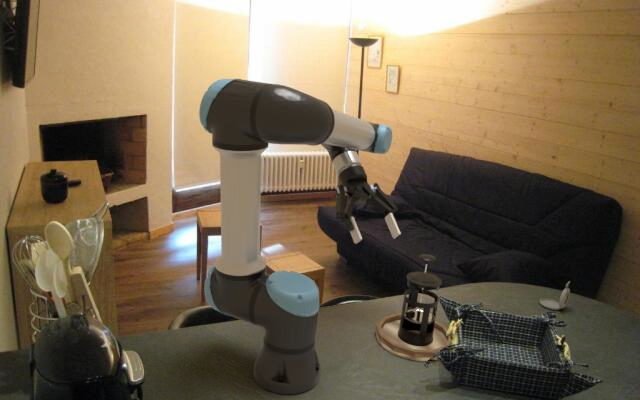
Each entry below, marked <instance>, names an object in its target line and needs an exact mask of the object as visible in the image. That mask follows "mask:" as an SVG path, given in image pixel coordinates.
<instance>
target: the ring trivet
mask: <svg viewBox="0 0 640 400" xmlns="http://www.w3.org/2000/svg"><path fill="white" fill-rule="evenodd" d="M401 314H402V312H395V313H392V314H388V315H385V316H382V317H381V318H380V320H379V321H378V322H377V323H376V324H375V338H376V340H377V342H378V343H379V345H380V346H381V347H382V348H383V349H385V350H386V351H388V352H389V353H391V354H392V355H394V356H397V357H399V358H403V359H406V360H410V361H415V362H416V361H417V362H429V361H428V360H429V359H430V358H432V357H433V355H435V354H438V352H439V351H440V350H441V349H442V348H444V347H446V346H449V345H450V341H451V338H450V336H446V332H447V330H448V329H449V327H447V326H445V325H444V324H443V323H440V322H439V321H438V320H436V319H435V323H434V332H433V342H432V343H431V344H430V345H427V346H414V345H410V344H407V343H405V342H403V341H402V340H401V339H400V338H399V337H398V330H399V326H400V321H401ZM407 331H409V332H412V333H416V334H420V331H419V330H415V329H408V330H407ZM434 360H435V361H439V360H438V359H437V358H436V357H435V358H434Z"/></svg>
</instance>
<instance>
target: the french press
mask: <svg viewBox="0 0 640 400" xmlns="http://www.w3.org/2000/svg"><path fill="white" fill-rule="evenodd" d="M418 257H419V259H421V260H422V261H424V265H425V268H424V271H411V272H409V273H407V275H406V280H407V286H408V288H409V289H408V288H407V289H406V290H405V291H404V293H403V301H402V306H401V307H402V308H401V313H402V314H401V321H400V326H399V330H398V337H399V338H400V339H401V340H402V341H403V342H405V343H407V344H410V345H414V346H427V345H430V344H431V343H432V342H433V332H434V323H435V320H436V316H437V310H438V306H439V301H440V297H439V296H438V295H437V294H436V293H435V292H433V291H430V290H428V289H425V288H434V289H435V290H436V291H439V290H440V286H441V285H442V282H443V281H442V279H441V278H440V277H439V276H438V275H436V274H433V273H430V272H427V268H428V265H429V262H435V261H436V259H437V258H436V257H435V256H434V255H431V254H420V255H419V256H418ZM419 294H420V299H419V302H418V298H419ZM407 295H408V297H407ZM423 295H426V296H429V297H431V298H433V299H434V302H432V303H423V302H422V301H423V300H422V299H423ZM431 309H432V312H431ZM408 329H415V330H419V331H420V334H416V333H412V332H409V331H407V330H408Z"/></svg>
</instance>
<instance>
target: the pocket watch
mask: <svg viewBox="0 0 640 400" xmlns="http://www.w3.org/2000/svg"><path fill="white" fill-rule="evenodd" d="M570 283H571V281H570V280H569V281H568V282H567V283H566V284H565V288H564V289H563V290H562V291H561V295H560V297H559V301H557V300H555V299H552V298H547V297H546V298H540V299H539V304H540V305H541V306H542V307H544V308H546V309H549V310H554V311H557V310H562V309H564V308H565V307H566V305H567V303H568V301H569V298H570V294H571V293H570V292H571V289H570V288H569V285H570Z"/></svg>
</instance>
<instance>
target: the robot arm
mask: <svg viewBox="0 0 640 400" xmlns="http://www.w3.org/2000/svg"><path fill="white" fill-rule="evenodd" d="M198 111H199V114H198V116H199V122H200V124H201V126H202V127H203V129H204V130H205V131H206V132H208V133H209V134H211V137H212V138H211V141H212V144H211V145H212V146H211V147H212V148H214V150H216V151H217V152H218V153H219V170H220V171H219V173H220V174H219V175H220V176H219V177H220V180H219V181H220V183H219V185H220V186H219V187H220V188H219V189H220V238H221V240H220V241H221V244H220V245H221V246H220V247H221V252H220V253H221V255H219V256H218V257H217V258H216V259H215V262H214V264H213V265H211V267H210V268H209V270H208V271H207V277H206V278H205V280H204V286H203V287H204V288H203V290H204V292H203V293H204V297H205V300H206V302H207V304H208V305H209V306H210V307H211V308H212V309H213V310H215V311H217V312H219V313H221V314H223V315H225V316H227V317H228V316H229V317H232V318H235V319H238V320H240V321H243V322H246V323H248V324H252V325H254V326H257V327H259V328H262V329H263V339H262V340H263V341H262V344H261V346H260V348H259V351H258V354H257V356H256V358H255V359H254V362H253V378H254V380H255V382H256V383H257V384H258V385H259V386H261V387H262V388H263V389H265V390H267V391H270V392H272V393H276V394H280V395H296V394H301V393H305V392H308V391H309V390H311V389H313V388H314V387H315V386H316V385H317V384H318V383H319V380H320V375H321V365H320V364H321V363H320V361H319V358H318V352H317V350H316V346H315V345H316V335H317V326H318V316H319V309H320V291H319V287H318V285H317V284H316V282H315V281H314V280H313V279H311V278H310V277H309V276H307V275H305V274H302V273H300V272H297V271H291V270H290V271H288V270H279V271H278V270H276V271H275V272H272V273H271V274H269V273H267V260H266V258H265V257H264V256H263V255H261V254H260V253H261V199H262V197H261V193H262V191H261V189H262V187H261V186H262V176H261V175H262V154H263V153H264V152H265V151H266V150H267V149H268V148H269V144H272V145H273V144H274V145H296V146H297V145H299V146H301V145H303V146H306V145H307V146H314V147H315V146H319V145H321V146H322V147H323V148H324V149H326V151H327V153H328V154H329V157H330V159H331V163H332V165H333V167H334V170H335V172H336V175H337V177H338V179H339V182H340V184H339V185H338V186H337V187H336V188H335V190H334V191H335V194H336V202H335V203H336V205H335V207H336V208H335V219H336V221H337V220H338V221H339V220H340V222H341V223H343V224H344V225H345V227H346V230H347V232H349V233H350V235H351V238H352V241H353V243H354V244H358V243H359V242H361V241H362V240H363V237H362V233H361V232H360V229H359V227H358V225H357V222H356V220H355V217H354V216H351V215H352V213H353V209H354V206H355V205H356V204H355V203H357V202H366V203H368V204H370V205H372V206H373V207H375V208H376V209H377V210H378V211H379V212H381V213H382V214H383V215H385V217H384V221H385V222H386V225H387V227H388V229H389V232H390V234H391V237H392V238H393V239H396V238H397V237H399V236H400V235H401V234H402V232H401V231H400V228H399V226H398V221H397V218H396V216H395V213H396V211H398V210H399V209H398V207H397V205H396V204H395V203H393V201H392V200H391V199H390V198H389V196H387V195H386V193H385V192H384V191H383V190H382V189H381V187H380V185H379V184H378V182H374V183H373V184H369V183H368V176H367V173H366V170H365V168H364V166H363V163H362V160H361V159H360V157H359V154H358V152H357V151H361V152H366V153H370V154H371V153H372V154H380V155H385V154H386V153H388V152H389V150H390V149H391V145H392V142H393V131H392V128H391V127H390V126H389V125H385V124H382V123H373V122H371V121H367V120H364V119H362V118H359V117H355V116H353V115H351V114H347V113H345V112H341V111H338V110H337V109H333V108H332V107H331V105H330V104H329V103H328V102H326V101H324V100H322V99H320V98H317V97H315V96H312V95H310V94H307V93H305V92H303V91H300V90H298V89H295V88H293V87H290V86H286V85H282V84H278V83H267V82H260V81H254V80H248V79H241V78H221V79H217V80H216V81H214V82H213V83H211V84H210V85H209V86H208V88H207V90H206V91H205V92H204V93H203V96H202V99H201V100H200V105H199V110H198ZM346 195H348V197H347V200H346ZM345 204H346V206H345Z"/></svg>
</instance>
